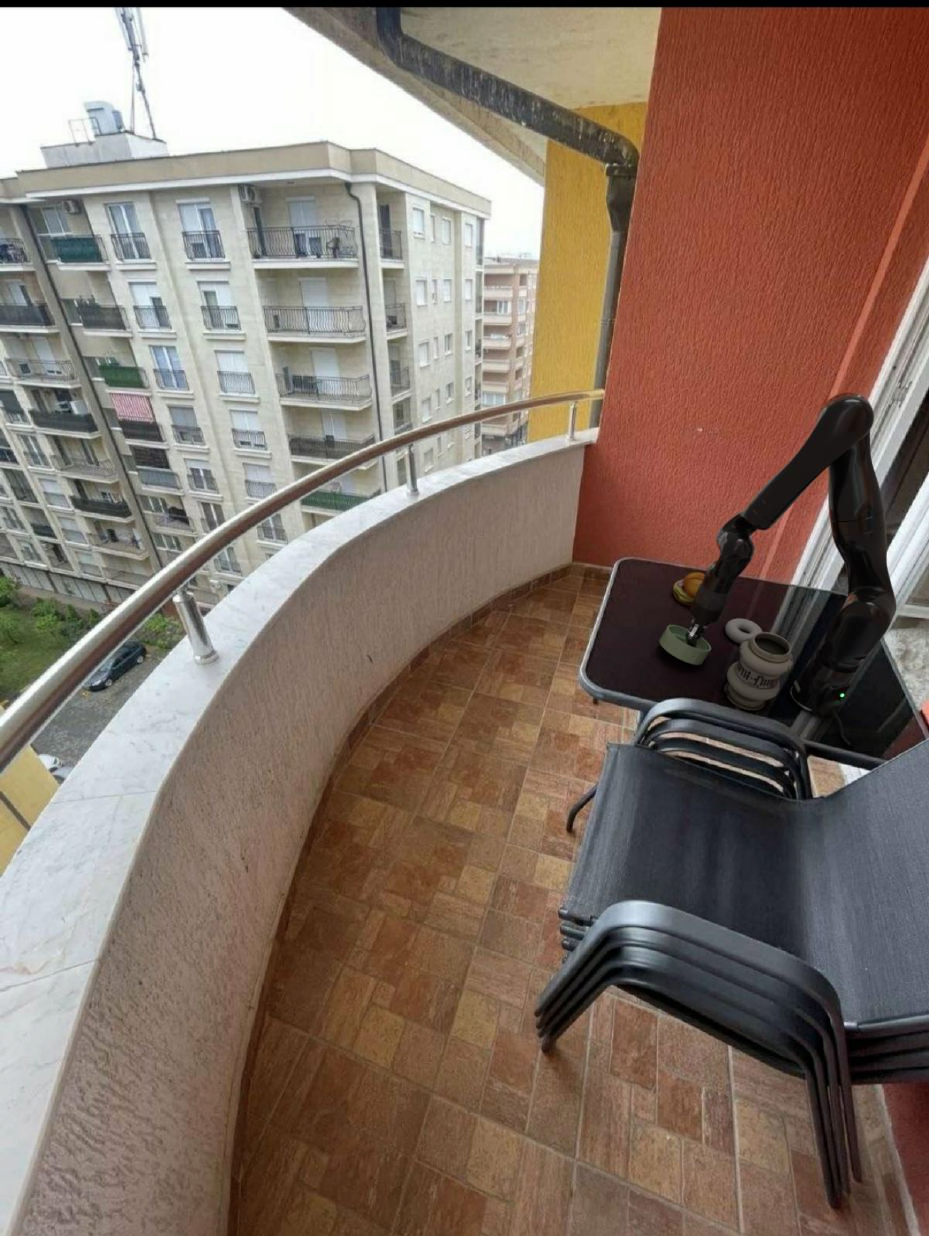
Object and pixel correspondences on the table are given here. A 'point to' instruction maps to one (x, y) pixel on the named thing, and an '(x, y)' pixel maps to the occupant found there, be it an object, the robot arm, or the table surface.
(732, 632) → the donut
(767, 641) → the apothecary jar
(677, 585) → the cheeseburger
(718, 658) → the table surface
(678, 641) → the bowl
